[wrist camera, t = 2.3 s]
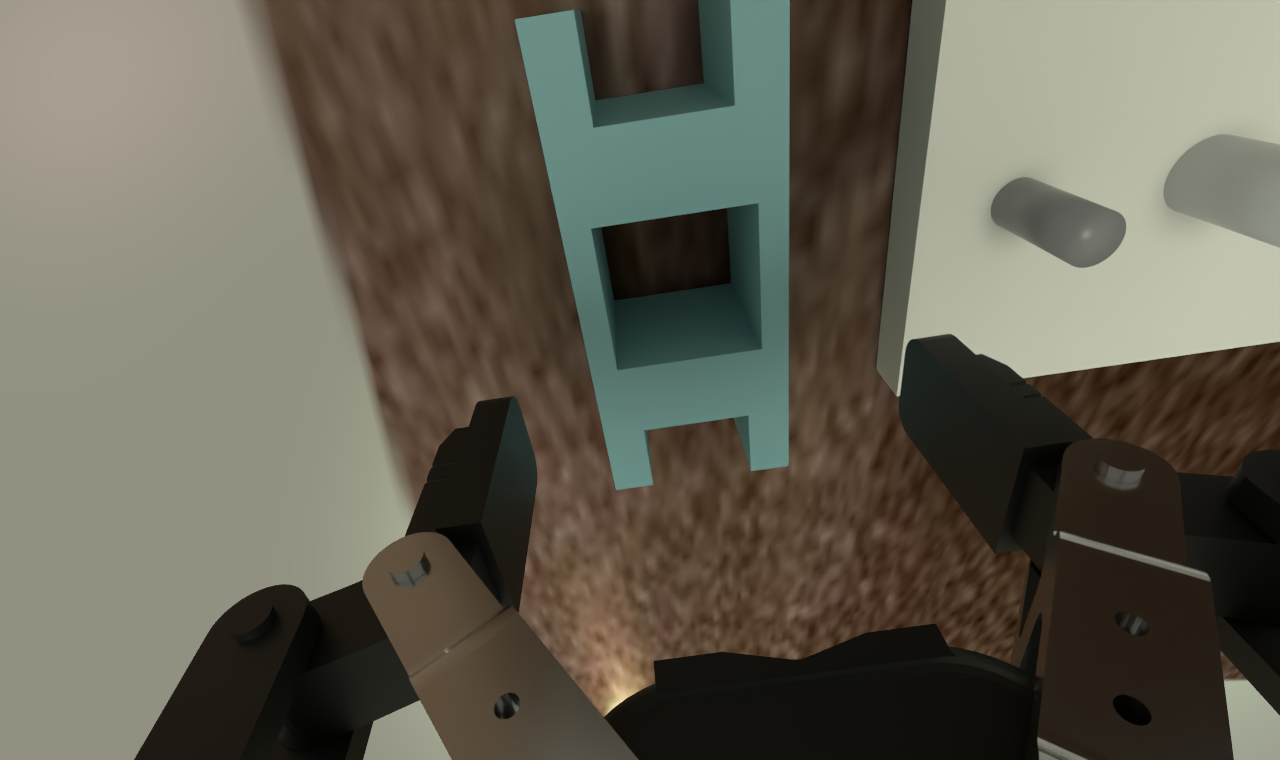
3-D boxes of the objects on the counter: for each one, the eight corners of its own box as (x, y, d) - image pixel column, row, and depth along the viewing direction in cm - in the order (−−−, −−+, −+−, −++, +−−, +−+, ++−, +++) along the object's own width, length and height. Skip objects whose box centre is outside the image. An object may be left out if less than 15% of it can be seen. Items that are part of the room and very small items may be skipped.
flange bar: (536, 17, 17) (514, 19, 13) (742, -17, 17) (790, -26, 12) (613, 407, 24) (616, 489, 20) (755, 386, 24) (788, 465, 20)
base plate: (916, -45, 17) (1055, -69, 12) (1569, -152, 16) (2012, -225, 11) (875, 369, 24) (949, 464, 19) (1319, 305, 24) (1514, 385, 19)
